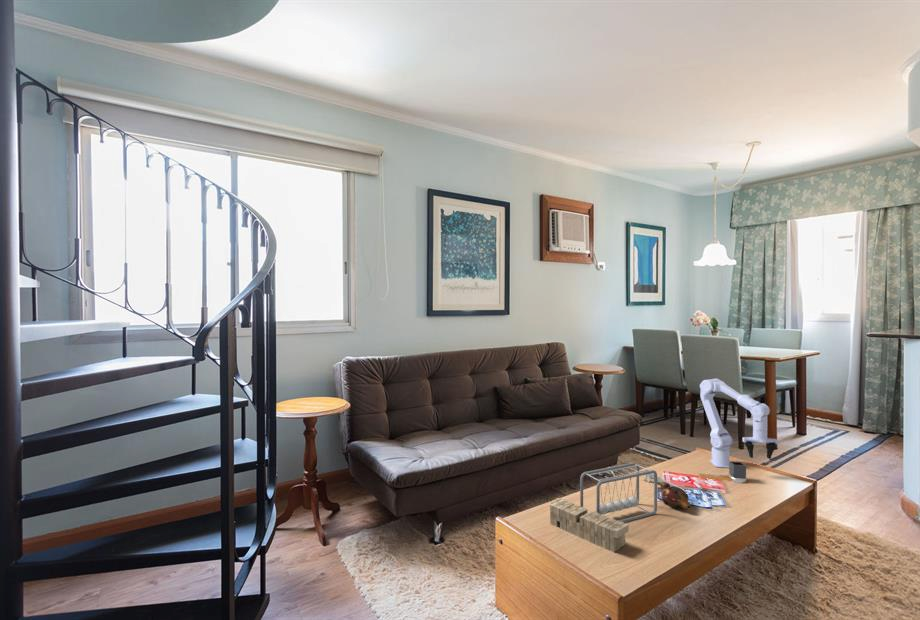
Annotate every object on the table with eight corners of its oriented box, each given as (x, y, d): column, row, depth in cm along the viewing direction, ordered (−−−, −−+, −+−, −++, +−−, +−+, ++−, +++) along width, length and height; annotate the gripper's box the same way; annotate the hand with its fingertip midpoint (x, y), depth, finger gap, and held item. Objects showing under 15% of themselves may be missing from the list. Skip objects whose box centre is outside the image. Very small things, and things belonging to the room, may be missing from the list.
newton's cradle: (597, 530, 164) (597, 482, 164) (579, 517, 174) (579, 472, 174) (657, 514, 176) (657, 469, 176) (637, 503, 186) (637, 461, 185)
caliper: (643, 481, 209) (643, 468, 209) (645, 481, 209) (645, 467, 209) (689, 495, 193) (689, 481, 193) (690, 495, 194) (690, 480, 194)
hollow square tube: (729, 473, 212) (729, 461, 212) (741, 474, 211) (741, 462, 211) (733, 477, 207) (733, 465, 207) (746, 478, 206) (746, 465, 206)
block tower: (547, 525, 170) (617, 555, 148) (546, 503, 170) (616, 530, 148) (559, 518, 175) (629, 546, 153) (559, 497, 175) (628, 522, 153)
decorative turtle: (667, 496, 192) (669, 478, 192) (698, 513, 178) (700, 494, 178) (650, 499, 188) (652, 480, 188) (680, 517, 175) (682, 497, 174)
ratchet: (701, 480, 209) (701, 469, 209) (697, 475, 216) (697, 464, 216) (748, 483, 205) (748, 472, 205) (742, 478, 212) (742, 467, 212)
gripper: (746, 431, 210) (746, 459, 210) (781, 432, 207) (781, 461, 207) (740, 426, 217) (740, 454, 217) (773, 428, 214) (773, 456, 214)
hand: (759, 457), depth 212 cm, fingers open, 7 cm apart
